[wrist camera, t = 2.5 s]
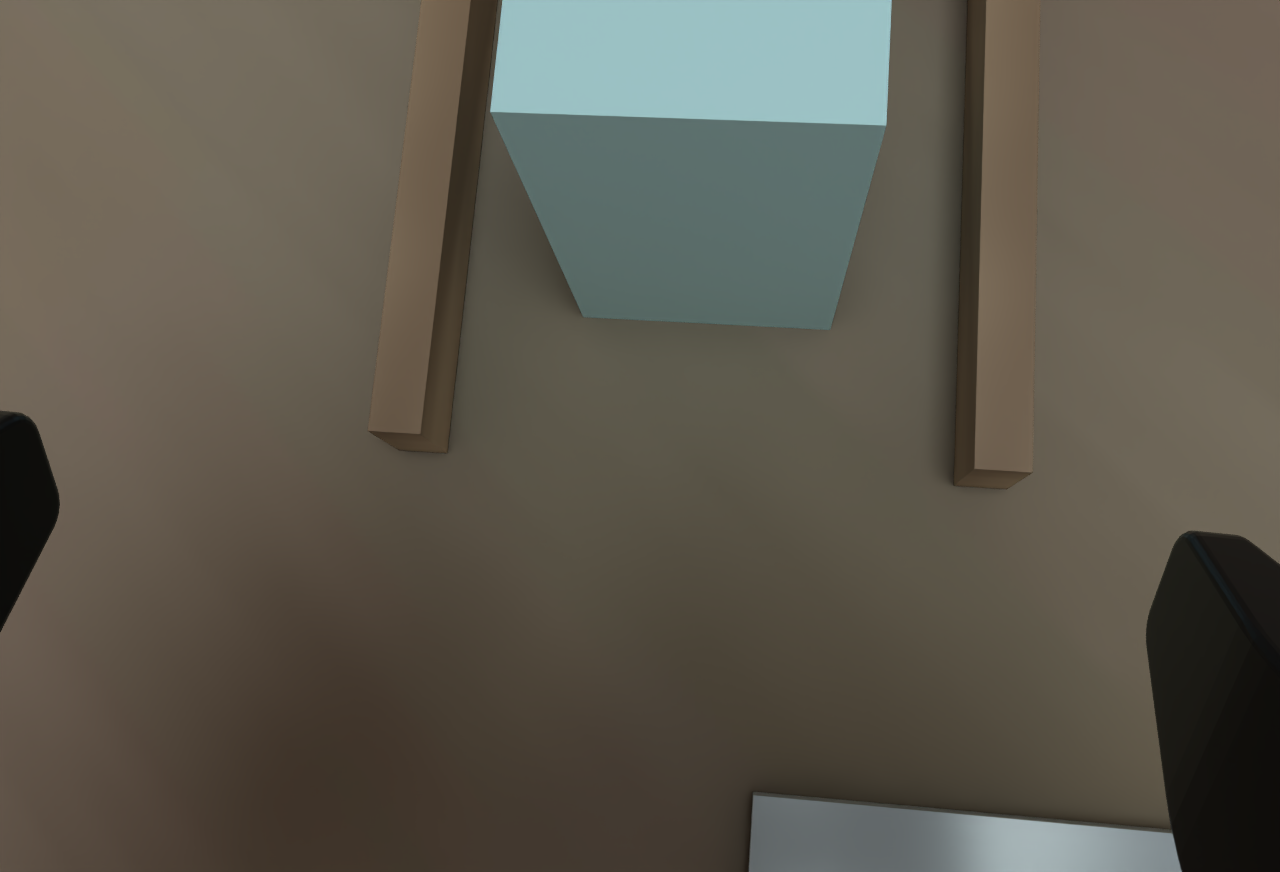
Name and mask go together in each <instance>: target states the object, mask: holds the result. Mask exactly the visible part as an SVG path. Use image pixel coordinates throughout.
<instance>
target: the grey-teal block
mask: <svg viewBox="0 0 1280 872" xmlns="http://www.w3.org/2000/svg"><path fill="white" fill-rule="evenodd" d="M891 1H892V0H503V1H502V10H501V19H500V28H499V38H498V47H497V56H496V65H495V74H494V83H493V92H492V101H491V110H490V112H491V114H492V117H493V119H494V121H495V123H496V126H497V128H498V130H499V132H500V134H501V137H502V139H503V141H504V143H505V145H506V148H507V150H508V152H509V154H510V156H511V159H512V161H513V163H514V165H515V167H516V170H517V172H518V174H519V176H520V178H521V181H522V183H523V185H524V187H525V190H526V192H527V194H528V196H529V198H530V201H531V203H532V205H533V207H534V209H535V212H536V214H537V216H538V218H539V220H540V223H541V225H542V227H543V229H544V231H545V234H546V236H547V238H548V240H549V243H550V245H551V247H552V249H553V251H554V254H555V256H556V258H557V260H558V262H559V265H560V267H561V269H562V271H563V273H564V276H565V278H566V280H567V282H568V284H569V287H570V289H571V291H572V293H573V295H574V298H575V300H576V302H577V304H578V307H579V309H580V311H581V313H582V315H583V317H590V318H610V319H629V320H648V321H668V322H687V323H706V324H725V325H745V326H764V327H783V328H803V329H822V330H830V329H831V325H832V321H833V318H834V314H835V311H836V307H837V303H838V300H839V296H840V292H841V289H842V285H843V281H844V278H845V274H846V270H847V267H848V263H849V260H850V256H851V252H852V249H853V245H854V241H855V238H856V234H857V230H858V227H859V223H860V219H861V216H862V212H863V209H864V205H865V201H866V198H867V194H868V190H869V187H870V183H871V179H872V176H873V172H874V168H875V165H876V161H877V158H878V154H879V150H880V147H881V143H882V139H883V136H884V132H885V128H886V121H887V97H888V73H889V49H890V25H891Z"/></svg>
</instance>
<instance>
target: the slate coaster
mask: <svg viewBox="0 0 1280 872" xmlns="http://www.w3.org/2000/svg"><path fill="white" fill-rule="evenodd" d="M748 872H1181V868H1180V864H1179V860H1178V856H1177V851H1176V847H1175V843H1174V838H1173V834H1172V830H1169V829H1158V828H1147V827H1136V826H1125V825H1114V824H1103V823H1092V822H1081V821H1070V820H1059V819H1048V818H1037V817H1026V816H1015V815H1004V814H993V813H982V812H971V811H960V810H949V809H938V808H927V807H916V806H905V805H894V804H883V803H873V802H862V801H851V800H840V799H829V798H818V797H807V796H796V795H785V794H774V793H763V792H753V799H752V817H751V834H750V851H749V868H748Z"/></svg>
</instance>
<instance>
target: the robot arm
mask: <svg viewBox="0 0 1280 872" xmlns="http://www.w3.org/2000/svg"><path fill="white" fill-rule="evenodd" d="M59 506H60V502H59V493H58V489H57V486H56V483H55V480H54V477H53V474H52V471H51V468H50V464H49V461H48V458H47V455H46V452H45V449H44V446H43V443H42V440H41V437H40V434H39V431H38V429H37V426H36V425H35V423H34V422H33V421H32V420H31V419H30V418H29V417H28V416H26V415H24V414H22V413H18V412H9V411H0V632H1V630H2V628H3V626H4V624H5V622H6V620H7V618H8V616H9V614H10V612H11V610H12V609H13V607H14V605H15V603H16V601H17V599H18V597H19V595H20V593H21V591H22V589H23V587H24V585H25V583H26V581H27V579H28V577H29V575H30V573H31V571H32V569H33V567H34V566H35V564H36V562H37V560H38V558H39V556H40V554H41V552H42V550H43V548H44V546H45V544H46V542H47V540H48V538H49V536H50V534H51V532H52V530H53V528H54V526H55V524H56V521H57V518H58V514H59ZM1146 646H1147V654H1148V662H1149V669H1150V677H1151V685H1152V692H1153V700H1154V708H1155V715H1156V723H1157V731H1158V738H1159V746H1160V754H1161V761H1162V769H1163V777H1164V784H1165V792H1166V799H1167V805H1168V812H1169V818H1170V824H1171V829H1172V834H1173V838H1174V843H1175V847H1176V851H1177V856H1178V860H1179V864H1180V868H1181V872H1280V564H1279V563H1277V562H1276V561H1275V560H1274V559H1272V558H1271V557H1270V556H1268V555H1267V554H1266V553H1265V552H1263V551H1262V550H1261V549H1259V548H1258V547H1257V546H1255V545H1254V544H1253V543H1252V542H1250V541H1249V540H1247V539H1246V538H1244V537H1241V536H1238V535H1231V534H1221V533H1211V532H1201V531H1188V532H1186V533H1184V534H1182V535H1181V536H1180V537H1179V538H1178V540H1177V541H1176V542H1175V544H1174V546H1173V548H1172V551H1171V554H1170V557H1169V559H1168V562H1167V565H1166V568H1165V570H1164V573H1163V576H1162V578H1161V581H1160V584H1159V587H1158V589H1157V592H1156V595H1155V598H1154V600H1153V603H1152V606H1151V609H1150V612H1149V615H1148V620H1147V628H1146Z"/></svg>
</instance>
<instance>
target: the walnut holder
mask: <svg viewBox="0 0 1280 872" xmlns="http://www.w3.org/2000/svg"><path fill="white" fill-rule="evenodd" d="M497 1H498V0H421V7H420V15H419V23H418V31H417V39H416V47H415V55H414V63H413V71H412V79H411V87H410V95H409V103H408V111H407V119H406V127H405V135H404V143H403V151H402V160H401V168H400V176H399V184H398V192H397V200H396V208H395V216H394V224H393V232H392V240H391V248H390V256H389V264H388V272H387V280H386V288H385V296H384V304H383V312H382V320H381V328H380V336H379V344H378V352H377V360H376V368H375V376H374V384H373V392H372V400H371V408H370V416H369V424H368V431H369V432H370V433H372V434H374V435H375V436H377V437H379V438H380V439H382V440H383V441H385V442H387V443H388V444H390V445H391V446H393V447H395V448H396V449H398V450H405V451H421V452H436V453H447V450H448V441H449V432H450V423H451V414H452V405H453V396H454V387H455V378H456V369H457V360H458V351H459V342H460V334H461V325H462V316H463V307H464V298H465V289H466V280H467V271H468V262H469V253H470V244H471V235H472V226H473V217H474V208H475V199H476V190H477V181H478V172H479V163H480V154H481V145H482V136H483V127H484V118H485V109H486V100H487V91H488V82H489V73H490V64H491V55H492V46H493V37H494V28H495V19H496V10H497ZM1039 52H1040V0H968V5H967V40H966V75H965V110H964V145H963V180H962V215H961V250H960V285H959V320H958V354H957V389H956V424H955V459H954V486H966V487H981V488H997V489H1008V488H1009V487H1011V486H1013V485H1014V484H1016V483H1017V482H1019V481H1020V480H1022V479H1023V478H1025V477H1027V476H1028V475H1030V474H1031V473H1033V430H1034V367H1035V304H1036V241H1037V178H1038V115H1039Z"/></svg>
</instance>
